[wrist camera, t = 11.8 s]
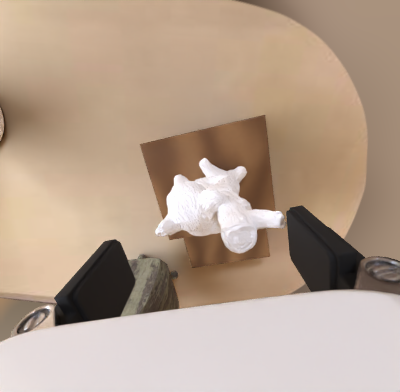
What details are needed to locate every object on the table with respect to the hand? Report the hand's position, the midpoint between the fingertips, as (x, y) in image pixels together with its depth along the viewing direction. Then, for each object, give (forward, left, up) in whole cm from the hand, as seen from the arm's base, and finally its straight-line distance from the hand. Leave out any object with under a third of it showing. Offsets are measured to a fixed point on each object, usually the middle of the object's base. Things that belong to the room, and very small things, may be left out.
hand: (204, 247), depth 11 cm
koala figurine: (+1, 0, -12) cm, 12 cm away
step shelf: (0, -5, -23) cm, 24 cm away
